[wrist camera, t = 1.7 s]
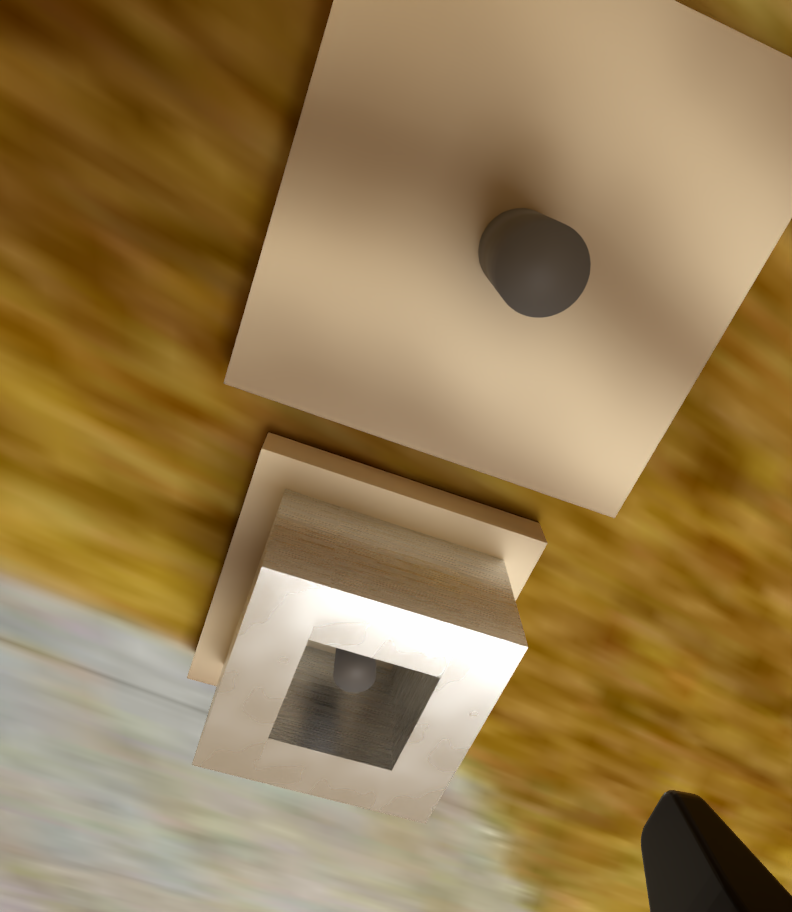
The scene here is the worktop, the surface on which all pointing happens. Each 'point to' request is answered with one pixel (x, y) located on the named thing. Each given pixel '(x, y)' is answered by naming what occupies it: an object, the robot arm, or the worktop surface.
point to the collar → (369, 634)
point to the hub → (519, 230)
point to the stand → (360, 493)
